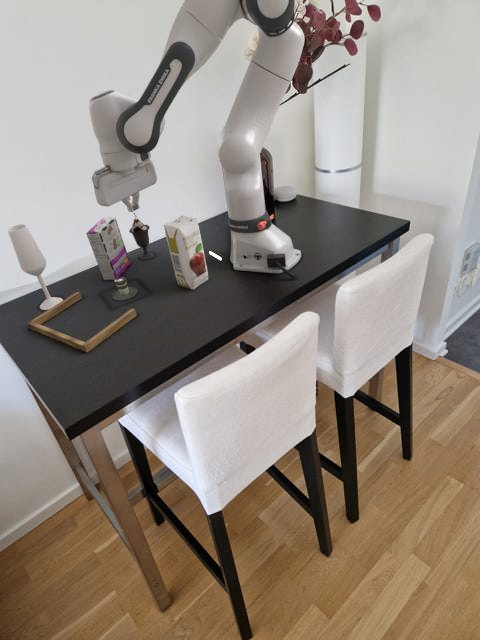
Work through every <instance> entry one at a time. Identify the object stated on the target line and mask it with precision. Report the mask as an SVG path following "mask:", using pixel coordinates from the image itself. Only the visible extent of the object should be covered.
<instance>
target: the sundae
mask: <svg viewBox="0 0 480 640" xmlns="http://www.w3.org/2000/svg"><path fill="white" fill-rule="evenodd" d="M133 215H134V219H133V222H132V224H131V227H130V228H129V231H128V232H129V233H130V234H132V236H133V238H134V241H135V244H136V245H137V247H140V248H142V250H143V254H141V255H140V256H139V259H140V260H142V261H149V260H151V259H153V258H154V257H155V254H154V253H153V252H149V251H148V248H147V247H148V246H149V244H150V237H149V230H150V228H151V227H150V226H149V225H148V224H145V223H143V222H142V221H141V220H140V219H139V218H138V216H137V215H136V212H133Z"/></svg>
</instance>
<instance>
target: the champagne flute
mask: <svg viewBox="0 0 480 640" xmlns="http://www.w3.org/2000/svg"><path fill="white" fill-rule="evenodd" d="M7 233H8V235H9V238H10V241H11V244H12V246H13V250H14V252H15V256H16V258H17V261H18V263H19V266H20V269H21V271H23V273H26V274H28V275H31V276H34V277H36V278H37V281H38V283H39V285H40V287H41V289H42V291H43V293H44V296H45V300H44V301H43V302H42V303H41V304H40V305H39V309H40V310H43V311H47V310H49V309H50V308H52V307H54V306H55V305H57V304H59V303H60V302H62V301H63V300H64V299H63V298H62V297H56V296H51V295H50V292H49V289H48V288H47V286H46V283H45V281H44V278H43V277H42V274H43V273H44V271H45V269H46V267H47V260H46V258H45V256H44V255H43V253H42V251H41V249H40V247H39V244H37V242H36V240H35V238H34V237H33V235H32V233H31V231H30V229H29V228H28V225H27V224H25V223H22V224H16V225H12V226H11V227H8V229H7Z"/></svg>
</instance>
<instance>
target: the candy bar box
mask: <svg viewBox="0 0 480 640" xmlns="http://www.w3.org/2000/svg"><path fill="white" fill-rule="evenodd" d="M86 237H87V239H88V242H89V245H90V246H91V250H92V253H93V255H94V258H95V259H96V260H95V261H96V263H97V266H98V269H99V271H100V274H101V276H102V279H103V281H115V280H116V279H117V278H119V277H122V275H123V274H124V272H125V271H126V269H127V268H128V267H129V266H130V265H131V261H130V258H129V254H128V252H127V249H126V245H125V242H124V239H123V236H122V233H121V230H120V227H119V224H118V221H117V217H103V218H101V219H100V220H99V221H98V222H97V223H95V224H94V225H93V226H92V227H91V228H90V229H89V230H88V231H87V232H86Z"/></svg>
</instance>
